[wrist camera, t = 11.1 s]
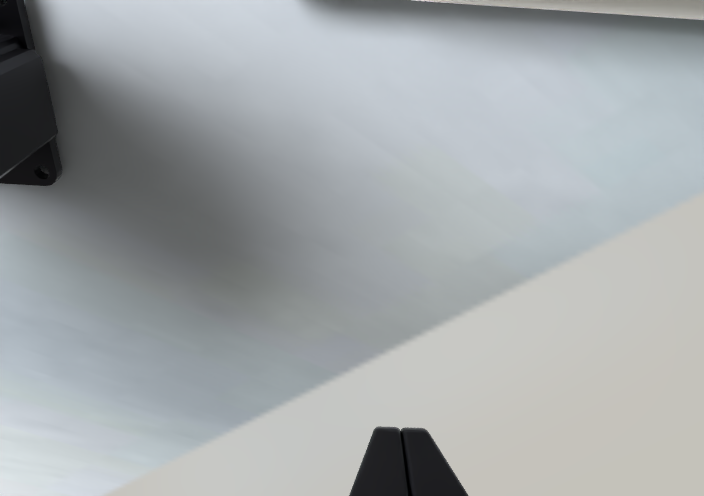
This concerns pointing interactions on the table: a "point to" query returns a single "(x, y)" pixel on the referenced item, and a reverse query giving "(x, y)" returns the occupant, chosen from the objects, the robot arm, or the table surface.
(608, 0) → the breaker board
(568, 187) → the table surface
